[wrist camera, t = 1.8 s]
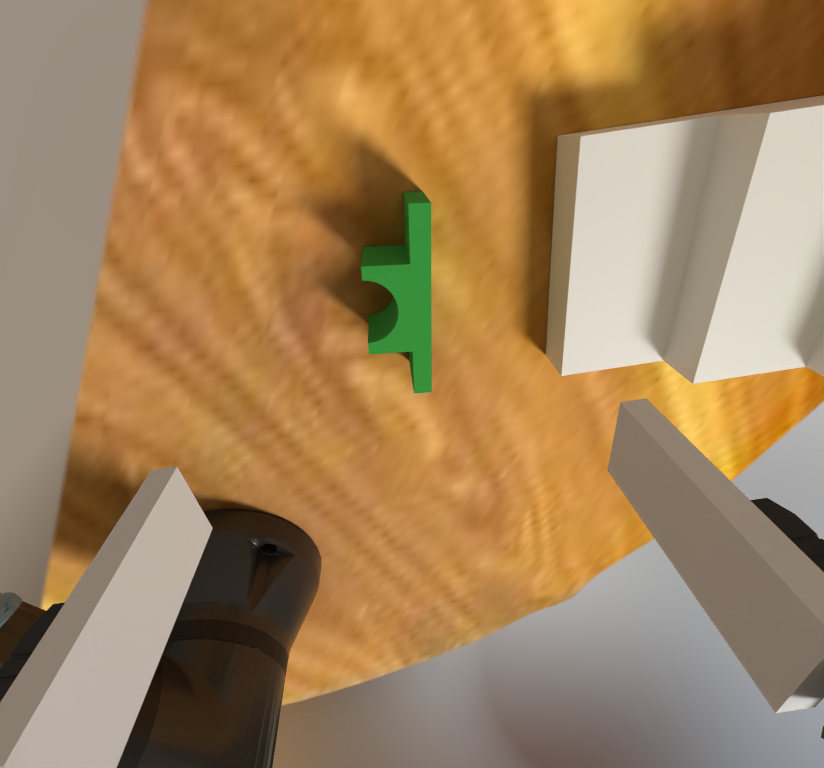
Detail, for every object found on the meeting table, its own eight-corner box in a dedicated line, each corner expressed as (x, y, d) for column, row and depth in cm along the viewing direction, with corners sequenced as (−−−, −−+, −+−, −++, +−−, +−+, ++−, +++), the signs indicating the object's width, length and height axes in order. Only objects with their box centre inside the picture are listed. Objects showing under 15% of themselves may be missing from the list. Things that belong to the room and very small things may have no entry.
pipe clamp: (358, 193, 24) (354, 204, 20) (422, 190, 24) (431, 201, 20) (373, 362, 30) (373, 397, 26) (424, 359, 30) (432, 393, 26)
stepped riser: (545, 355, 30) (603, 431, 23) (557, 134, 23) (650, 137, 15) (866, 307, 30) (1032, 366, 23) (984, 69, 23) (1292, 39, 15)
